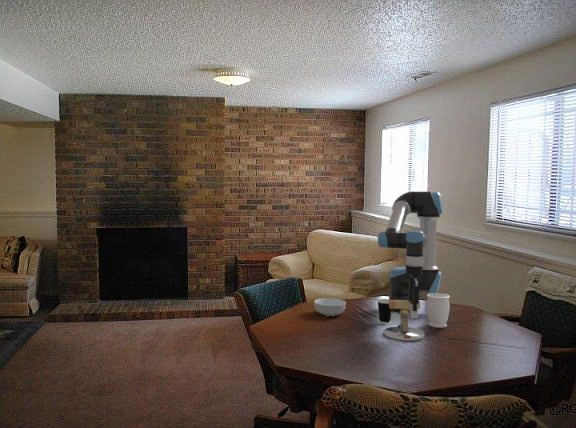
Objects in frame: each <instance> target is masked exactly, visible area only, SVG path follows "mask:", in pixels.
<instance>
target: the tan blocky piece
mask: <svg viewBox="0 0 576 428" xmlns="http://www.w3.org/2000/svg"><path fill="white" fill-rule="evenodd" d="M410 302H412V300H389V307H390V309H401V312H400V317H408V318H409V312H408V309H411V304H410ZM420 309H421V302H420V301H419V303H418V310H420ZM408 327H409V319H408V320H403V330H405V331H408Z"/></svg>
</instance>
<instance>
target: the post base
mask: <svg viewBox="0 0 576 428" xmlns="http://www.w3.org/2000/svg"><path fill="white" fill-rule="evenodd" d="M399 320H400V321H399V322H400V323H399V324H397V326H390V327H386V328H384V329H383V337H385V338H387V339H389V340H391V341H395V342H404V343H405V342H406V343H414V342H421V341H423V340H424V339H425V332H424V331H423V330H421V329H419V328H415V327H410V326H408V331H405V330H403V320H408V321H409V316H408V317H401V316H400V319H399Z"/></svg>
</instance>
